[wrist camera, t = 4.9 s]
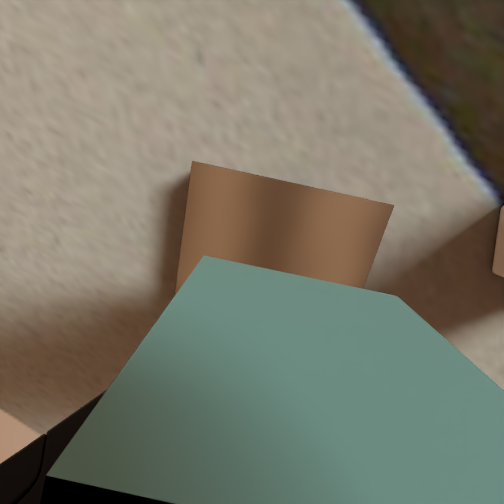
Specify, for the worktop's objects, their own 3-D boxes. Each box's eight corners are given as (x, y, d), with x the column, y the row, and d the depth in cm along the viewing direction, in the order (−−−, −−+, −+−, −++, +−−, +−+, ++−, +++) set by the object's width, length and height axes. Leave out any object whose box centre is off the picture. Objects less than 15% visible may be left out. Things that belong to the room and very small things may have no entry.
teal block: (396, 295, 8) (795, 648, 2) (336, 436, 9) (455, 843, 4) (203, 255, 8) (19, 513, 2) (179, 406, 9) (47, 782, 4)
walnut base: (370, 200, 16) (394, 205, 13) (322, 340, 20) (332, 369, 17) (204, 163, 16) (192, 160, 13) (182, 312, 19) (169, 336, 16)
